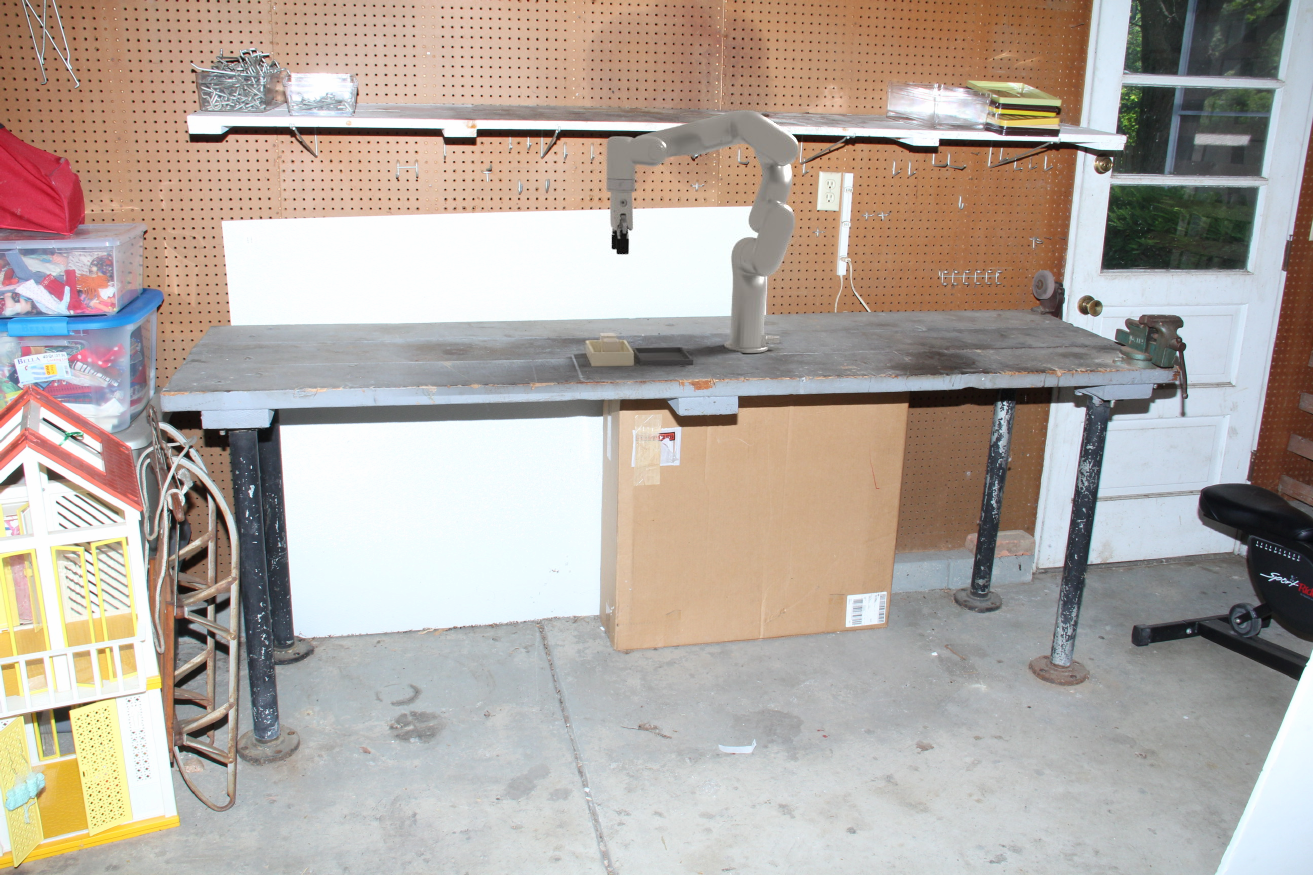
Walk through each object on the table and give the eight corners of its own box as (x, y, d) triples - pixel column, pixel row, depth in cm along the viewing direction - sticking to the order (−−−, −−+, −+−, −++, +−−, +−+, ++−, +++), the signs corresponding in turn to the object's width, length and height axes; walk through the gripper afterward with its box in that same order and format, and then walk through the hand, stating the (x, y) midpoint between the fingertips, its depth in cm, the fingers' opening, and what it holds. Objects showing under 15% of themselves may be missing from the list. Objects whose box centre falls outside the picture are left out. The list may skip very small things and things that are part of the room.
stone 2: (617, 360, 263) (617, 338, 261) (619, 363, 259) (619, 341, 257) (602, 360, 262) (602, 338, 260) (604, 364, 258) (604, 341, 256)
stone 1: (614, 354, 269) (614, 332, 267) (616, 357, 265) (616, 335, 263) (599, 354, 268) (599, 333, 267) (601, 357, 265) (601, 336, 263)
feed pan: (681, 353, 274) (681, 346, 274) (692, 366, 260) (693, 359, 260) (632, 354, 272) (632, 347, 271) (641, 367, 258) (641, 360, 257)
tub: (625, 354, 272) (625, 340, 270) (633, 367, 258) (633, 352, 256) (585, 354, 270) (585, 340, 269) (591, 368, 256) (592, 353, 255)
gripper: (640, 188, 249) (638, 256, 254) (630, 184, 265) (629, 247, 270) (610, 188, 248) (610, 256, 253) (602, 183, 264) (602, 247, 269)
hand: (619, 251), depth 262 cm, fingers open, 9 cm apart
